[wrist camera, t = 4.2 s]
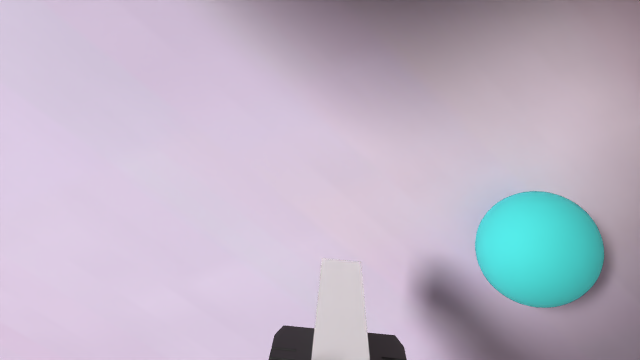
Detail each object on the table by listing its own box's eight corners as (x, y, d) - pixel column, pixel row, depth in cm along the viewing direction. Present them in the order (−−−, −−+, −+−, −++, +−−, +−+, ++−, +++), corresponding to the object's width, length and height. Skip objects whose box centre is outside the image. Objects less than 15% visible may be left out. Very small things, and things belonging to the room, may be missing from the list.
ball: (454, 265, 24) (485, 326, 19) (472, 172, 23) (512, 210, 17) (553, 274, 24) (611, 338, 19) (578, 182, 22) (650, 223, 17)
